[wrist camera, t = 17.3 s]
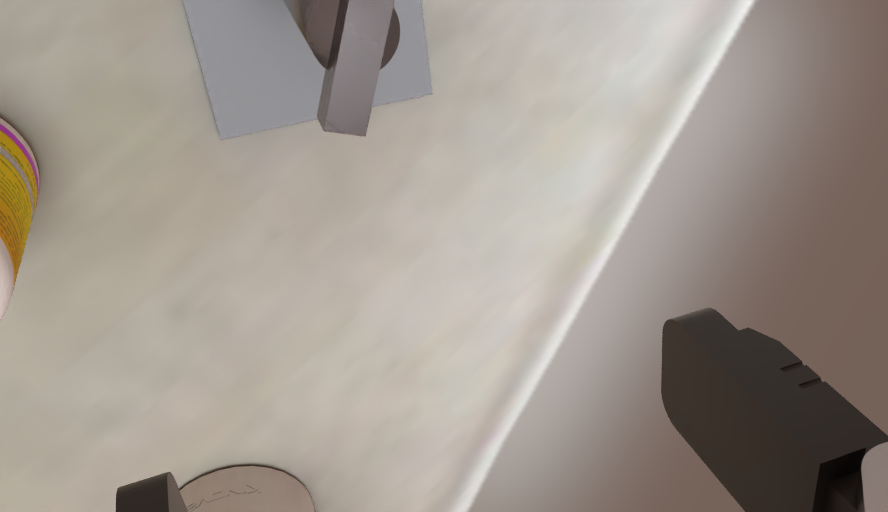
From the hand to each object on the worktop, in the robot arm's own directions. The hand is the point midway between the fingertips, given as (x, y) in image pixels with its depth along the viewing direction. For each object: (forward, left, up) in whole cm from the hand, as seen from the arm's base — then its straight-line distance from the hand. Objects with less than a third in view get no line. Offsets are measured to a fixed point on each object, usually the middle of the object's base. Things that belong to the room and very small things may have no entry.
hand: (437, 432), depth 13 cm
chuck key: (+1, -3, -27) cm, 27 cm away
